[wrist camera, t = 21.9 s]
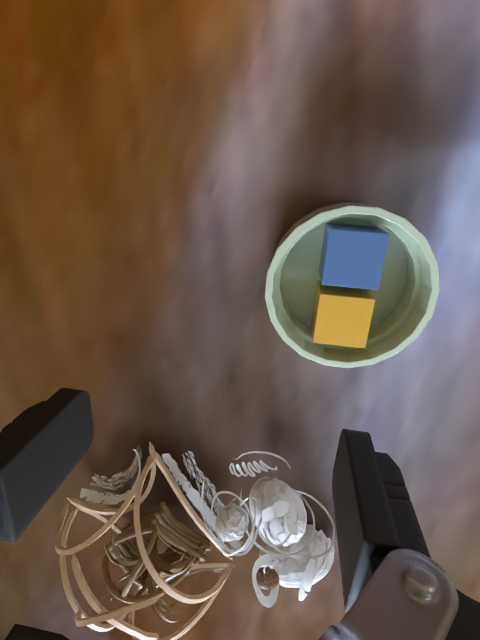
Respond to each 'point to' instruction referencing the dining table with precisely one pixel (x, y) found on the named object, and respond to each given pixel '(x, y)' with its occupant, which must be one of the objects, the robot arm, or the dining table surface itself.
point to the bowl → (390, 299)
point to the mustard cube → (342, 315)
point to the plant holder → (194, 543)
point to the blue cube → (352, 255)
